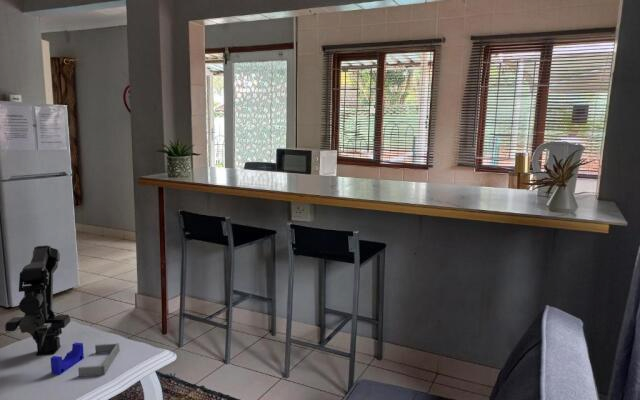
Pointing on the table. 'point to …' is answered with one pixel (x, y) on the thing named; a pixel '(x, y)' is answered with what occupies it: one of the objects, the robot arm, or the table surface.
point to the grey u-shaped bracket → (103, 368)
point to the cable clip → (67, 359)
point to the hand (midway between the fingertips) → (40, 346)
